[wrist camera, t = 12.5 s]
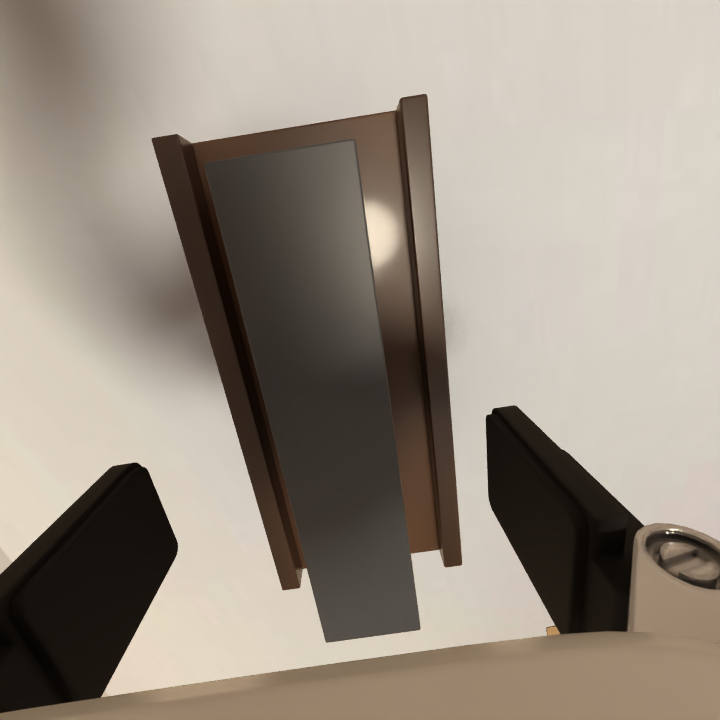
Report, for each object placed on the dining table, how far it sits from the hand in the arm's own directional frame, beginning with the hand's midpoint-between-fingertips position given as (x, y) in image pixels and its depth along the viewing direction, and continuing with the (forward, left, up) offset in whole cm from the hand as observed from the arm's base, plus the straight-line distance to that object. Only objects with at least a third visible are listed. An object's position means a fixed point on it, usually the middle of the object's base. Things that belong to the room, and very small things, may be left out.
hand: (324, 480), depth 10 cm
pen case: (0, 0, -8) cm, 8 cm away
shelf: (0, 0, -18) cm, 18 cm away
